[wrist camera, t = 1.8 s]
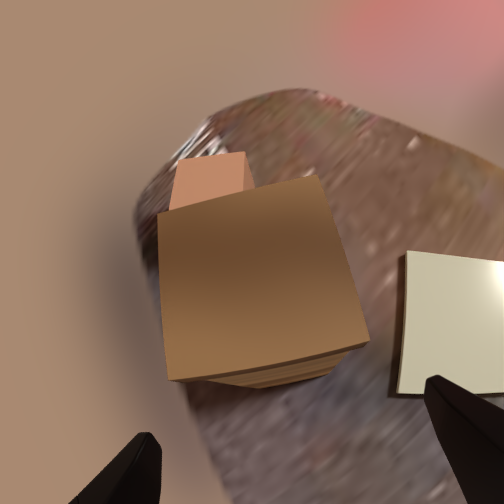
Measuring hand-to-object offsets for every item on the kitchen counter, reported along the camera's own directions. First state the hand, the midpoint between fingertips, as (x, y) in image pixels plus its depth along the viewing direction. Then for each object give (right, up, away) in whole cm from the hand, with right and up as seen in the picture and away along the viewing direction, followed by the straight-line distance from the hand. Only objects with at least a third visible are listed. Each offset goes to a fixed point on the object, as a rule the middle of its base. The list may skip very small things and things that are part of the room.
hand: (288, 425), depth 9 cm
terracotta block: (-3, +8, +17) cm, 19 cm away
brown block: (+1, -1, +12) cm, 12 cm away
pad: (+14, 0, +10) cm, 17 cm away
